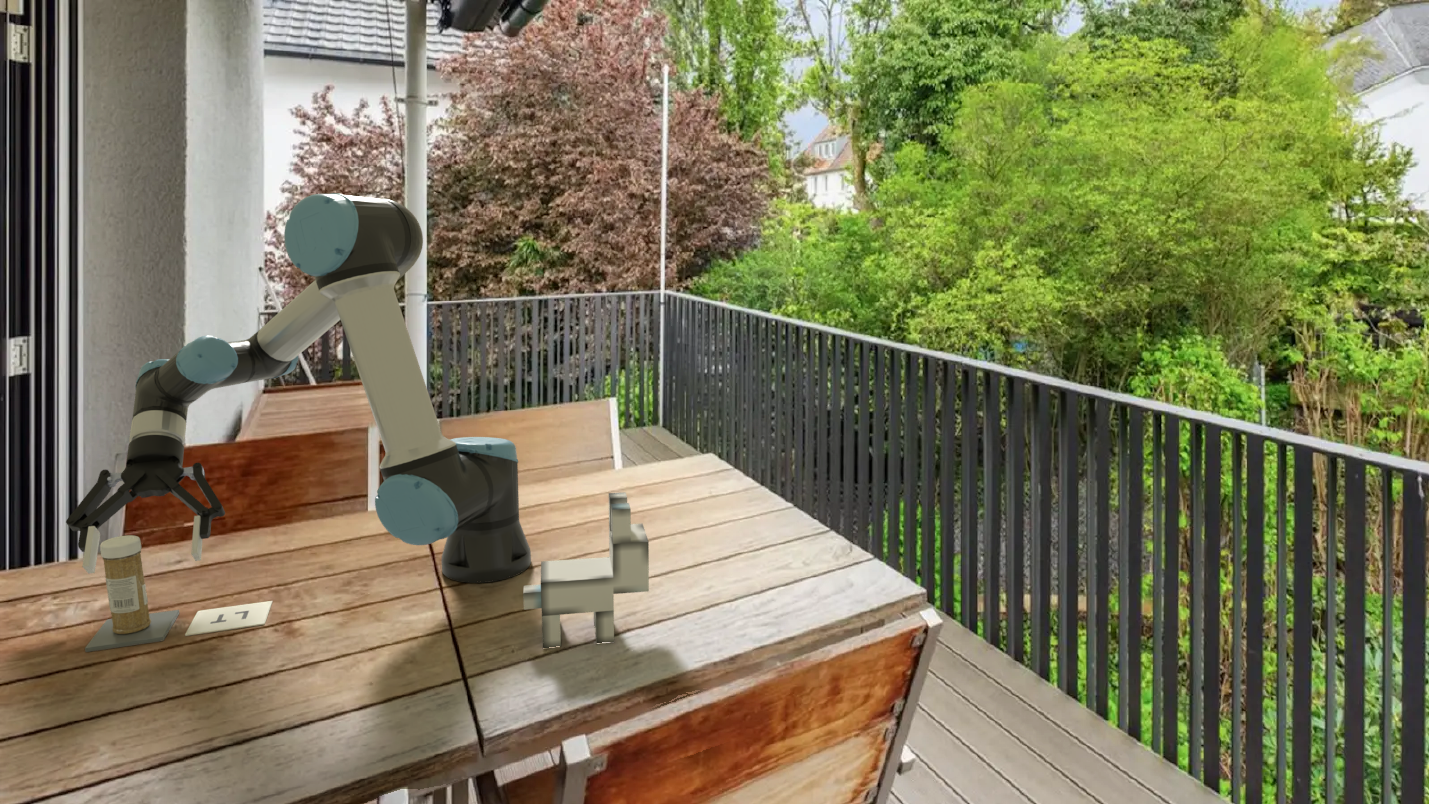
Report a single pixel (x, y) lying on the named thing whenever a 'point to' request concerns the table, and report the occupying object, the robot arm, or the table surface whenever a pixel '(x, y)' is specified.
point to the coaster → (150, 634)
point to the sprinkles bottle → (125, 584)
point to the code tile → (229, 618)
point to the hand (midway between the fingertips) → (143, 563)
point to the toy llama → (593, 578)
